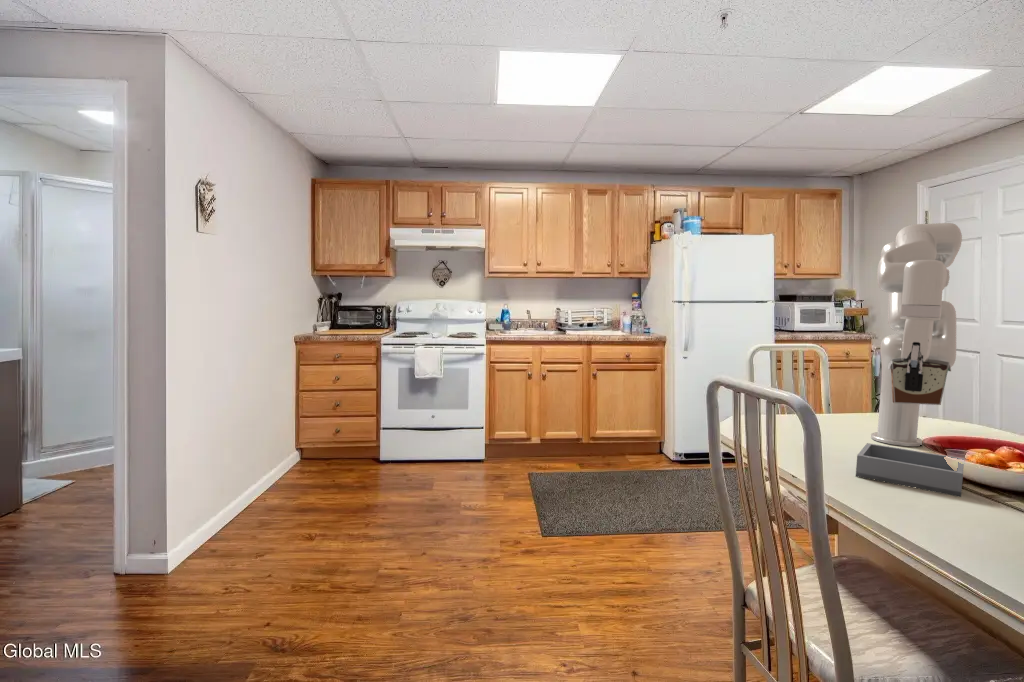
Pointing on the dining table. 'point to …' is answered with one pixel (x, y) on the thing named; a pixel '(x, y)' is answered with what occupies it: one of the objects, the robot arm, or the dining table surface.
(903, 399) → the food container
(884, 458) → the bin
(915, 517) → the dining table surface
